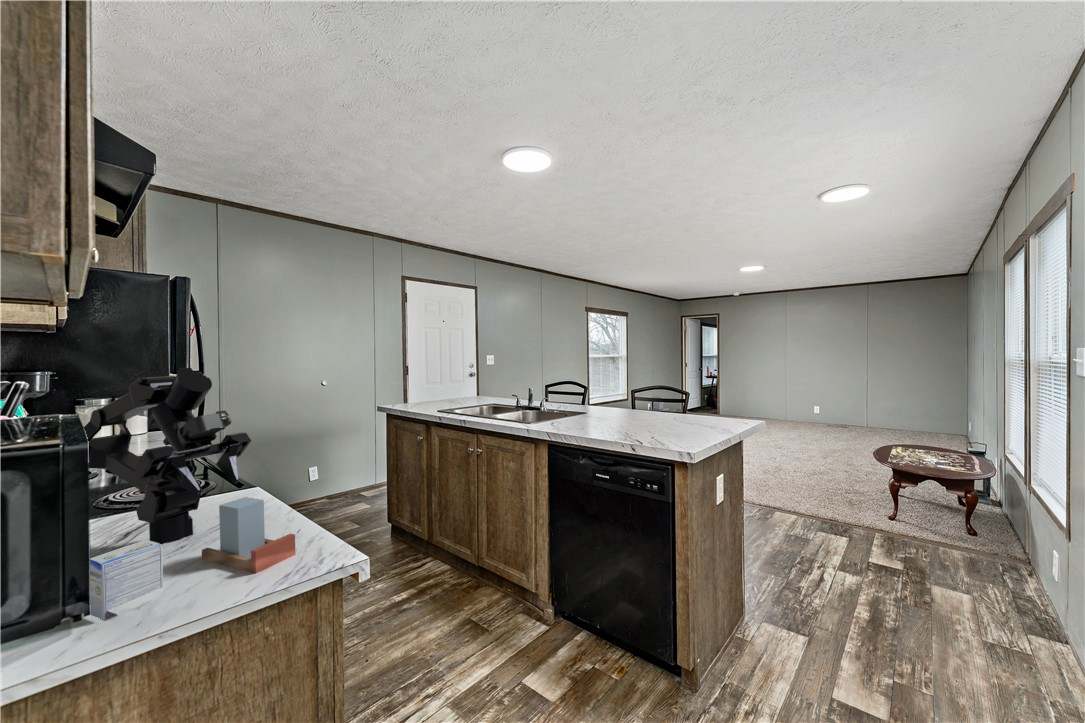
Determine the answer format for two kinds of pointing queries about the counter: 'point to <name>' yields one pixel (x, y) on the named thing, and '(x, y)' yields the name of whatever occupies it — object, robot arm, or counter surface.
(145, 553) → the medicine box
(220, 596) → the counter surface
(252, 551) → the key housing
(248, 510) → the slate key
